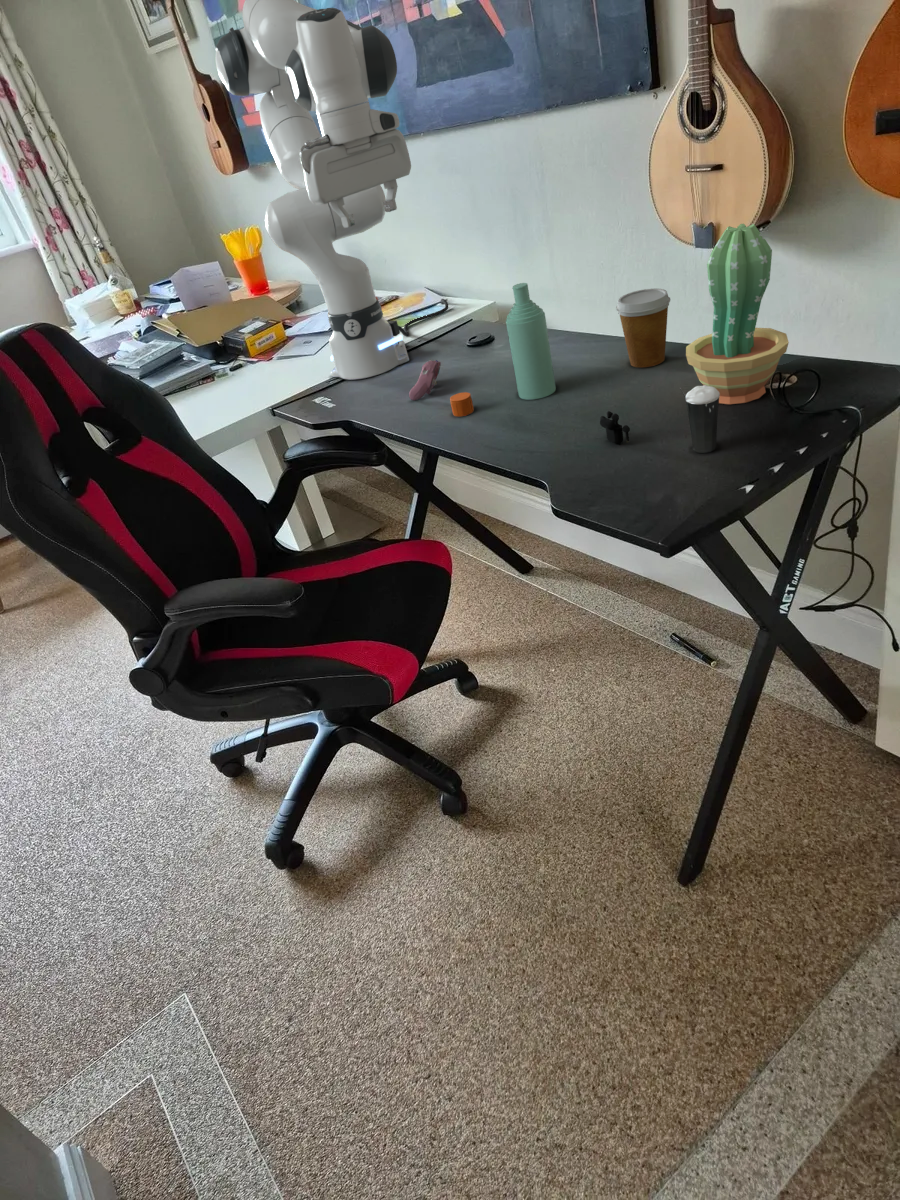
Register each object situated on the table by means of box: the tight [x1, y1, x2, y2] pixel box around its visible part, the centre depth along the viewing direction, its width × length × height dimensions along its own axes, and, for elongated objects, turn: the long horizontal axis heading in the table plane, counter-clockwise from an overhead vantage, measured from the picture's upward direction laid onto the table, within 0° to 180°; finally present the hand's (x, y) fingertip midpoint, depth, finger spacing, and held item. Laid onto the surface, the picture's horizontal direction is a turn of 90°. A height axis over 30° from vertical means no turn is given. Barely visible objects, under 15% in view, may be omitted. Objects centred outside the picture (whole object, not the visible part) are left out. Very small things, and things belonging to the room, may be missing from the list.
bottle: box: [505, 282, 557, 401], centre depth 140 cm, size 7×7×20 cm
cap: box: [449, 391, 475, 417], centre depth 144 cm, size 4×4×3 cm
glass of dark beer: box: [679, 384, 720, 454], centre depth 110 cm, size 4×5×10 cm
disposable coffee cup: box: [615, 288, 671, 369], centre depth 142 cm, size 10×10×12 cm
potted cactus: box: [685, 223, 790, 405], centre depth 119 cm, size 15×15×25 cm
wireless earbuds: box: [599, 410, 631, 445], centre depth 119 cm, size 7×2×5 cm, turn 28°
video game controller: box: [408, 359, 442, 401], centre depth 157 cm, size 10×5×7 cm, turn 168°
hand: (370, 218), depth 136 cm, fingers open, 8 cm apart
